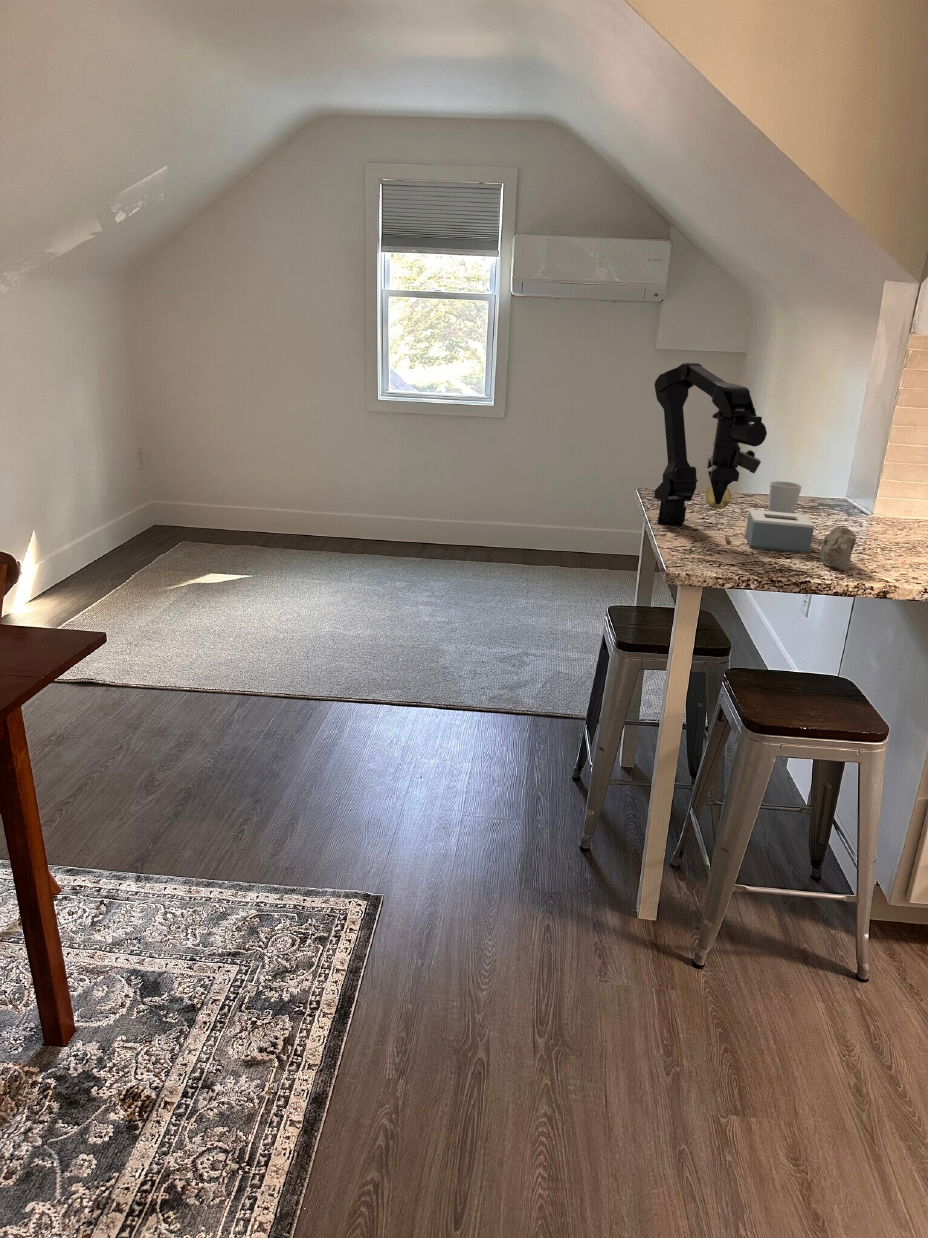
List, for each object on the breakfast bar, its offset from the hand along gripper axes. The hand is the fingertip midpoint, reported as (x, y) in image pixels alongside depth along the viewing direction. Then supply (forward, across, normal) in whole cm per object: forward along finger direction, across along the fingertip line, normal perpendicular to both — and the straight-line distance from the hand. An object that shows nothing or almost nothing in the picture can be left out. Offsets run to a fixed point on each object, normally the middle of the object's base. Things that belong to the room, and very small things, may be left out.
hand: (717, 502), depth 225 cm
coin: (+1, 0, 0) cm, 1 cm away
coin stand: (+10, 0, 0) cm, 10 cm away
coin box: (+10, +2, -16) cm, 19 cm away
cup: (+10, +21, -19) cm, 30 cm away
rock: (+10, -13, -27) cm, 32 cm away
